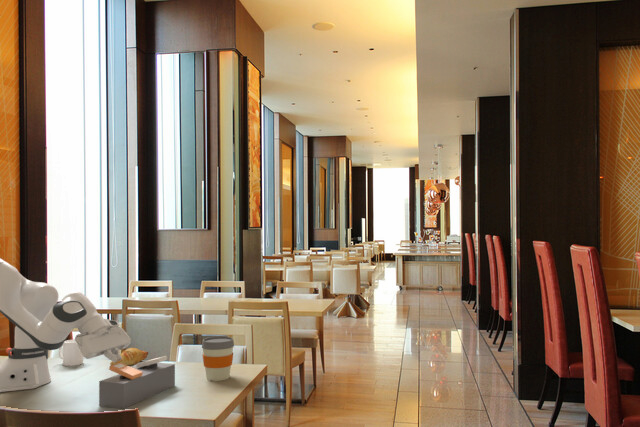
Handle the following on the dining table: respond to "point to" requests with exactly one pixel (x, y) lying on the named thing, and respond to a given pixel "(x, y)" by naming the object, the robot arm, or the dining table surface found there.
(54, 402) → the dining table surface
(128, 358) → the croissant
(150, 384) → the block
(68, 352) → the cup
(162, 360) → the rocker grey
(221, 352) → the reusable coffee cup
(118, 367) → the rocker orange
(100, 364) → the dining table surface
